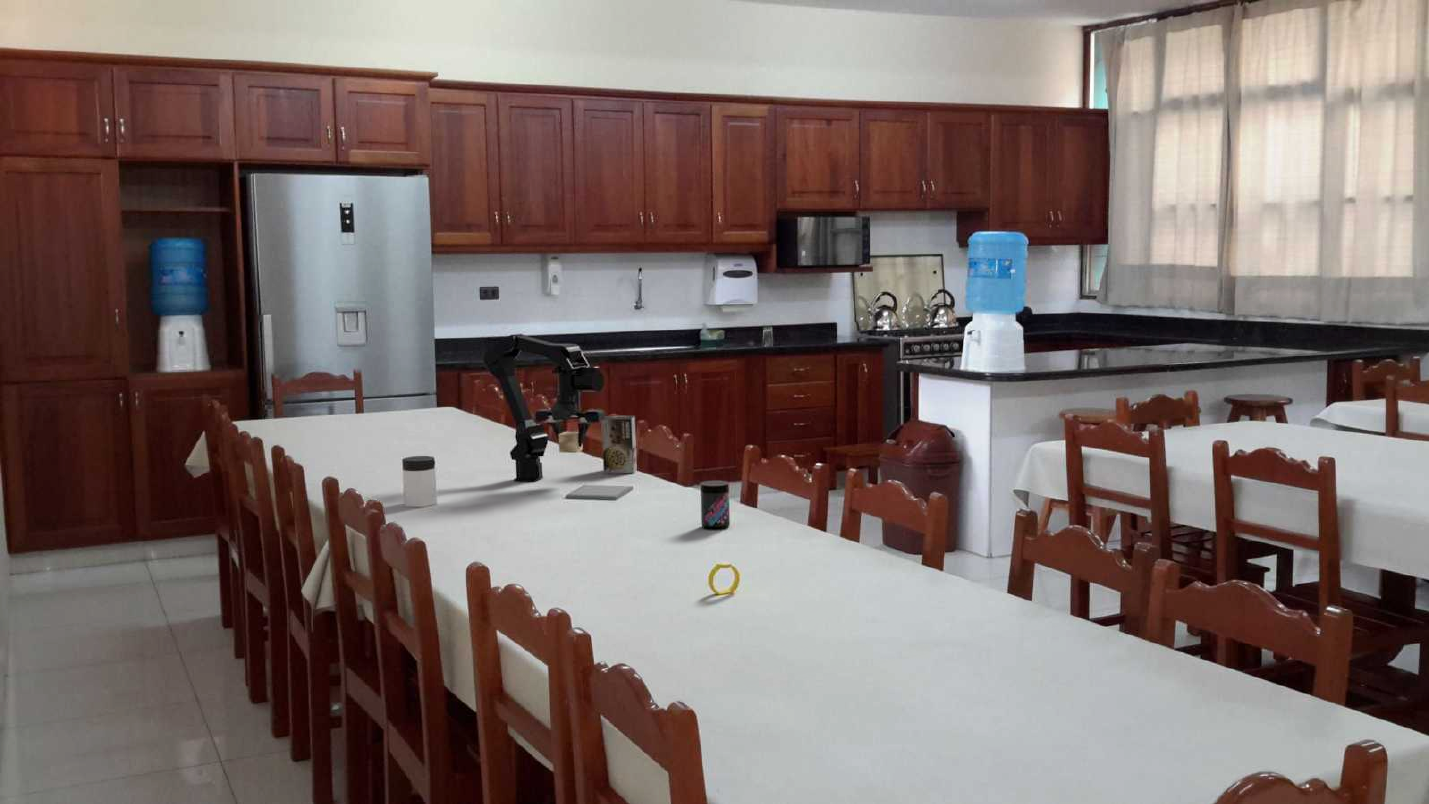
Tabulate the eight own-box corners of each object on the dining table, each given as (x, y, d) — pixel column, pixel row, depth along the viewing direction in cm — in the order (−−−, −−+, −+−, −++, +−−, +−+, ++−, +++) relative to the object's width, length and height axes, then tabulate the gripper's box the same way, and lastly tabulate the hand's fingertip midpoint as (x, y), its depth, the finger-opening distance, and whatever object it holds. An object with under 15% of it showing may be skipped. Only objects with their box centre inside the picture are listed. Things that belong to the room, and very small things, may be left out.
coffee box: (637, 469, 367) (635, 415, 365) (633, 473, 361) (632, 418, 359) (606, 469, 368) (605, 415, 366) (602, 473, 362) (601, 418, 359)
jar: (439, 505, 321) (436, 459, 319) (406, 508, 318) (404, 462, 316) (434, 499, 329) (432, 454, 327) (402, 502, 326) (400, 456, 325)
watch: (734, 590, 239) (735, 560, 238) (741, 594, 236) (742, 563, 236) (706, 593, 236) (707, 562, 235) (712, 596, 233) (714, 565, 233)
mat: (565, 498, 327) (565, 494, 327) (584, 487, 341) (584, 484, 341) (616, 499, 324) (616, 496, 324) (633, 489, 337) (633, 486, 337)
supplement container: (698, 530, 288) (697, 485, 287) (704, 523, 295) (703, 480, 293) (726, 531, 287) (726, 486, 285) (732, 524, 293) (731, 480, 292)
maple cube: (559, 452, 343) (558, 434, 342) (565, 449, 348) (565, 431, 347) (576, 452, 342) (575, 434, 341) (582, 449, 346) (582, 431, 346)
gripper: (525, 393, 337) (528, 450, 339) (591, 394, 332) (593, 452, 334) (541, 388, 348) (543, 444, 350) (604, 389, 343) (606, 445, 345)
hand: (570, 446), depth 344 cm, fingers closed on maple cube, 5 cm apart
